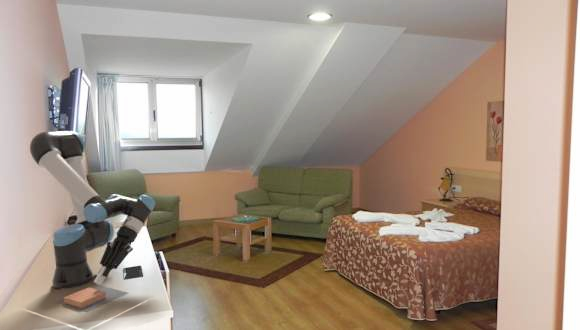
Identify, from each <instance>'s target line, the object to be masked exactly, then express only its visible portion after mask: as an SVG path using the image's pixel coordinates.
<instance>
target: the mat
mask: <svg viewBox="0 0 580 330" xmlns="http://www.w3.org/2000/svg"><path fill="white" fill-rule="evenodd" d="M92 288H93V289H97V290H100V291H104V292H106V298H104V299H102V300H100V301H97V302H95V303H93V304H91V305H88V306H86V307H84V308H79V307H76V306H72V305H69V304H66V303H64V298H63V299H60V300H58V301H56V302H55V303H56V304H59V305H62V306H65V307H69V308H72V309H74V310H78V311H80V312H81V311H82V312H84V313H88V312H90V311H92V310H95V309H98V308H99V307H101V306H103V305H106V304H108V303H110V302H112V301H115V300H117V299H119V298H121V297H124V296H125V295H128V294H129V292H127V291H123V290H119V289H115V288H112V287H107V286H104V285H102V284H101V285H98V284H97V285H95V286H93V287H92Z"/></svg>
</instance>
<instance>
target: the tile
mask: <svg viewBox="0 0 580 330" xmlns="http://www.w3.org/2000/svg"><path fill="white" fill-rule="evenodd" d="M104 298H106V292H104V291H100V290H97V289H93V287H86V288H83V289H81V290H78V291H76V292H74V293H70V294H69V295H68V294H67V295H66V296H64V297H63V299H64V303H66V304H69V305H72V306H76V307H79V308H84V307H86V306H88V305H91V304H93V303H95V302H97V301H100V300H102V299H104Z"/></svg>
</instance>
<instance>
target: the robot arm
mask: <svg viewBox="0 0 580 330" xmlns="http://www.w3.org/2000/svg"><path fill="white" fill-rule="evenodd" d="M85 148H86V141H85V140H84V138H83V136H81V134H80V133H78V132H76V131H74V130H58V131H56V130H55V131H42V132H39V133H37V134H36V135H34V137H33V138H32V140H31V141H30V145H29V153H30V155H31V158H32V159H33V160H34V161H35V163H36V164H37V165H38V166H39V167H40V168H43V169H44V168H45V169H46V171H47V172H49V174H50V175H51V176H53V177H54V178H55V180H56V181H57V182H58V183H59V184H60V185H61V186H62V187H63V188H64V189H65V190H66V191H67V192H68V194H69V198H70V200H71V203H72V206H73V208H74V212H75V214H76V218H77V219H76V221H75V223H72V224H69V225H64V226H61V227H59V228H58V229H56V230H55V231H54V232H53V235H52V236H53V237H52V239H53V240H52V243H53V251H54V259H55V260H54V261H55V269H54V273H53V277H52V282H51V283H52V287H53V288H54V289H56V290H61V289H71V288H76V287H80V286H84V285H86V284H88V283H90V282H92V280H93V283H95V284H96V285H97V286H98V285H101V286H102V284H103V283H104V281H105V280H106V279H107V277H108V275H109V274H110V272H111V271H112V270H113V269H114V270H116V269H118V267H119V266H120V265H121V263H122V262H123V261H124V260H125V259H126V257H127V256H128V255H129V254H130V253H132V251H133V250H134V248H133V247H132V243H134V242H135V240H136V239H137V237H138V234H140V232H141V230H142V229H143V227H144V225H145V223H146V221H147V220H148V218H149V217H150V215H151V213H152V212H153V210H154V208H155V206H156V201H154V199H153V198H152V197H150V196H148V195H146V194H141V195H140V196H138V198H133V197H129V196H125V195H123V194H117V193H113V194H111V195H110V196H109V197H108V198H107V199H105V200H104V199H103V197H101V196H100V195H99V194H98V193H97V192H96V190H95V189H94V188H93V187H92V186H91V185H90V184H89V181H88V179H87V175H86V172H85V170H84V166H83V164H82V160H83V159H84V155H83V154H84V152H85V151H86V150H85ZM120 215H124V216H126V217H125V219H124V221H123V222H122V224H121V226H120V227H119V228H118V230H117V232H116V238H114V239H113V237H114V233H115V229H114V225H113V224H112V223H113V222H112V221H109V219H112V218H115V217H117V216H120ZM112 239H113V241H112ZM104 246H106V247H105V250H104V252H103V255H102V257H101V259H100V261H99V264H100V265H101V266H102V267H101V268H100V269H99V271H98V273H97V275H96V277H95V279H94V274H93V273H94V272H93V270H92V269H91V267H90V265H89V262H88V255H87V253H89V252H91V251H94V250H96V249H99V248H102V247H104Z"/></svg>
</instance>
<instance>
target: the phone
mask: <svg viewBox="0 0 580 330" xmlns="http://www.w3.org/2000/svg"><path fill="white" fill-rule="evenodd" d="M122 274H123V280H131V279H136V278H144V272H143V268H142V265H135V266H130V267H128V266H127V267H124V268H122Z"/></svg>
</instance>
